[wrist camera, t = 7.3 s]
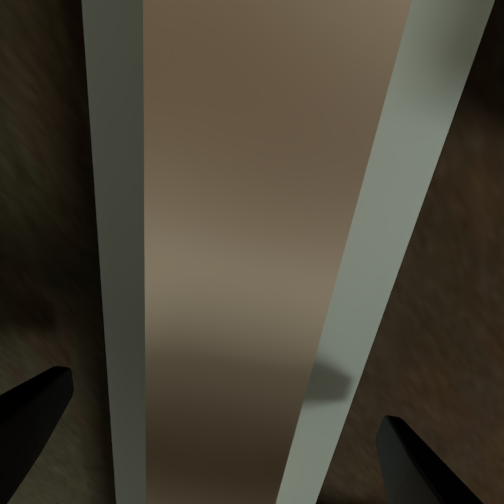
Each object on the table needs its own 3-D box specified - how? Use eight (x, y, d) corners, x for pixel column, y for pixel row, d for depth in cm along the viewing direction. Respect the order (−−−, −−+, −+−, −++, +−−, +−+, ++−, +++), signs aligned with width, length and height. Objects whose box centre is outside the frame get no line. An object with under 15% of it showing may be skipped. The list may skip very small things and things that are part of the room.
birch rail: (235, 573, 14) (226, 686, 11) (172, 563, 14) (146, 673, 11) (397, -173, 5) (582, -629, 2) (216, -198, 5) (139, -684, 2)
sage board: (281, 568, 15) (282, 597, 14) (130, 545, 15) (120, 572, 14) (541, -219, 5) (601, -300, 4) (94, -280, 5) (55, -373, 4)
